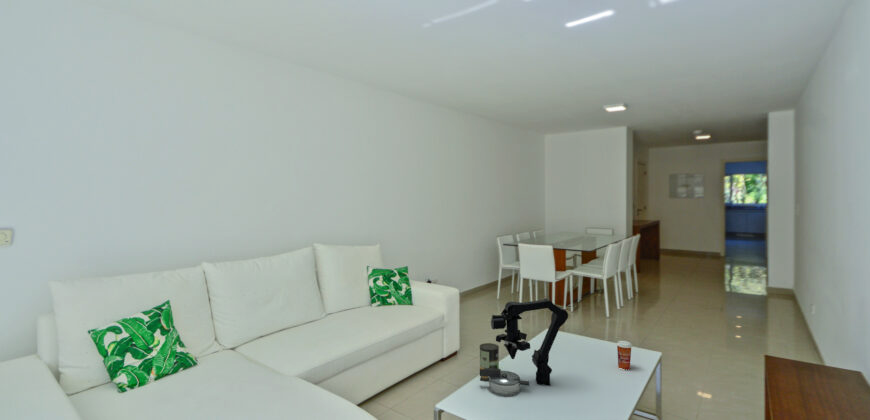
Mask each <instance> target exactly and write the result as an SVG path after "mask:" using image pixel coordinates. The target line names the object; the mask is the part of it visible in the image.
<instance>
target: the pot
mask: <svg viewBox="0 0 870 420" xmlns="http://www.w3.org/2000/svg"><path fill="white" fill-rule="evenodd" d="M479 377H480V378H479V381H480V382H488V390H489V391H490V393H491V394H493V395H496V396H499V397H504V398H506V397H507V398H508V397H510V398H511V397H514V396H515V397H516V396H518V395H519V394H520V393H521V386H526V387H527V386H529V387H530V381H529V380H521V379H520V381H519V382H518V383H517V384H514V385H499V384H496V383H494V382H492V381H491V380H490V378H489V377H485V376H479Z"/></svg>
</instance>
